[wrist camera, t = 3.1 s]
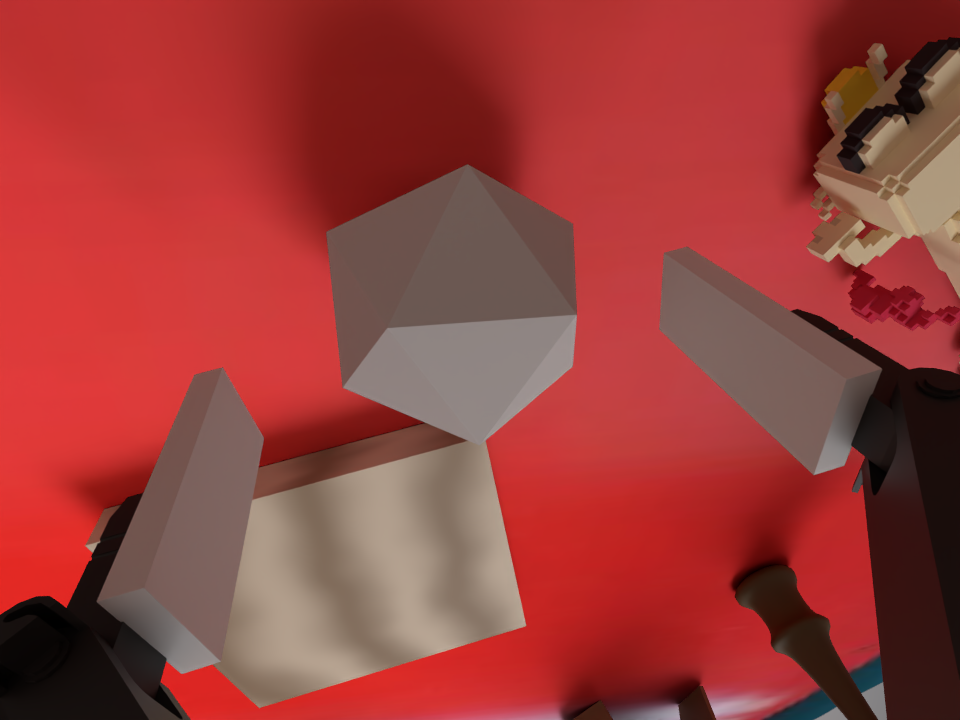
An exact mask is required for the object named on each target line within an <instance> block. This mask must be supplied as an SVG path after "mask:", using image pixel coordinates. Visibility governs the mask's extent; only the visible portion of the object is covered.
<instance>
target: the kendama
mask: <svg viewBox="0 0 960 720" xmlns="http://www.w3.org/2000/svg"><path fill="white" fill-rule="evenodd" d="M735 598H736V600H737V601H738V603H739V604H740V605H741V606H743V607H746V608H749V609H752V610H754V611H755V612H756V613H757V614H758V615H759V616H760V617H761V618H762V620H763V621H764V622H765V624H766V625H767V627H768V629H769V631H770V633H771V646H772V647H773V649H774V650H775V651H776V652H778V653H782V654H785V655H787V656H789V657H791V658H792V659H793V660H794V661H795V662H797V663H798V664H799V665H800V666H801V667H802V668H803V669H804V670H805V671H806V672H807V673H808V675H809V676H810V677H811V678H812V679H813V680H814V681H815V682H816V683H817V684H818V686H819V687H820V688H821V689H822V690H823V691H824V692H825V694H826V695H827V696H828V697H829V698H830V699H831V700H832V702H833V703H834V704H835V705H836V706H837V707H838V709H839V710H840V711H841V712H842V713H843V714H844V716H845V717H846V718H847V719H848V720H878V719H877V717H876V716H875V714H874V713H873V711H872V710H871V708H870V706H869V705H868V703H867V702H866V700H865V699H864V697H863V696H862V694H861V692H860V691H859V689H858V688H857V686H856V684H855V683H854V681H853V679H852V678H851V676H850V675H849V673H848V671H847V670H846V668H845V666H844V665H843V663H842V661H841V659H840V658H839V656H838V654H837V652H836V650H835V649H834V647H833V645H832V642H831V640H830V636H829V630H830V623H829V620H828V619H827V618H826V617H824V616H822V615H819V614H817V613H815V612H814V611H813V610H811V609H810V607H809V606H808V605H807V604H806V602H805V601H804V600H803V598H802V597H801V595H800V593H799V592H798V590H797V578H796V575H795V573H794V571H793V570H792V569H791V568H789V567H787V566H785V565H773V566H769V567H766V568H763V569H761V570H759V571H757V572H755V573H753V574H751V575H750V576H749V577H747V578H746V579H745V580H743V581H742V583H741V584H740V585H739V586H738V587H737V590H736V594H735Z"/></svg>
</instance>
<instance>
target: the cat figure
mask: <svg viewBox="0 0 960 720" xmlns="http://www.w3.org/2000/svg"><path fill="white" fill-rule="evenodd" d="M867 52H868V54H869V56H870V58H869V59H868V60H867V61H866V62H865V63H866V65H867V67H868V68H865V67H858V66H853V68H852V69H848V68H844V69H843V70H842V71H841V72H840V73H839V74H838V75H837V77H836V78H835V79H834V80H833V81H832V82H831V83H830V84H829V85H828V87H827V88H826V89H825V90H824V91H825V93H826V94H827V96H826V97H825V98H824V99H823V101H822V102H821V104H822V106H823V107H824V109H825V111H826V112H827V114H828V116H829V117H830V118H829V119H828V120H827V123H828V124H829V126H830V128H831V129H832V131H833V133H834V134H835V136H834V137H833V138H832V139H831V140H830V141H829V142H828V143H827V144H826V145H825V147H824V148H823V149H822V150H821V151H820V152H819V153H818V154H817V157H818V158H819V160H818V161H817V162H816V163H815V164H814V168H815V169H816V172H815V173H814V174H813V175H814V176H815V178H816V179H817V181H818V182H819V183H820V185H821V186H820V187H819V188H818V189H817V191H816V192H815V193H814V194H813V195H814V197H815V199H814V200H813V201H812V202H811V203H810V205H811V206H812V208H815V209H817V210H819V209H820V208H821V207H822V208H823V210H822V211H821V212H820V213H819V214H818V216H819V217H820V218H821V219H823V220H825V221H827V220H828V219H829V218H830V217H831V216H832V215H831V213H830V212H829V211H830V210H831V209H832V208H833V207H834V206H836V208H837V209H838V210H840V211H843V212H841V213H840V214H838V215H837V216H836V217H835V218H834V219H833V220H832V221H831V222H830V223H827V222H825V221H823V222H822V223H821V224H820V225H819V226H818V227H817V228H816V229H815V230H814V231H813V232H812V233H813V234H814V236H815V238H814V239H813V240H812V241H811V242H810V243H809V244H808V245H807V246H806V247H807V249H808V250H809V251H810V252H811V253H812V254H813V255H815V256H817V257H819V258H821V259H823V260H825V261H827V262H829V261H831V260H832V259H833V258H834V257H835V256H836V255H837V254H838V253H839V254H840V256H841V257H842V258H843V259H844V261H845V262H847V263H849V264H851V265H853V266H855V267H858V266H859V265H860V264H861V263H862V264H864V266H865V265H866V264H867V263H868V262H869V261H870V260H871V259H873V258H874V257H875V256H876V255H877V256H879V257H881V256H882V255H883V254H884V253H885V252H886V251H887V250H888V249H889V248H890V247H891V246H893V245H894V244H895V243H896V242H897V241H898V240H899V239H900V238H901V237H902V236H903V237H906V238H908V239H909V238H911V237H912V236H913V235H916V236H919V237H921V238H922V240H923V241H924V243H925V245H926V247H927V249H928V250H929V252H930V254H931V256H932V258H933V259H934V261H935V263H936V265H937V267H938V268H939V270H941V271H944V272H946V274H947V276H948V278H949V280H950V282H951V283H952V285H953V287H954V289H955V291H956V293H957V294H958V296H959V298H960V38H950V37H949V38H948V40H938V41H937V42H928V43H927V44H926V45H925V46H924V47H923V48H922V49H921V50H920V51H919V52H918V53H917V54H916V55H915V56H914V57H913V59H912V60H906V61H905V63H904V64H903V65H901V66H900V67H899V68H898V69H897V70H896V71H895V72H894V73H893V74H892V76H891V77H890V78H889V79H888V80H887V81H886V82H885V80H884V78H883V77H884V76H885V75H886V74H887V73H888V71H887V69H886V67H885V65H884V63H883V61H884V60H885V58H886V57H887V53H886V51H885V49H884V47H883V44H879V43H874V44H873V45H872V46H871V47H870V49H869V50H868V51H867ZM826 195H828V196H829V198H828V199H827V200H826V201H825V202H824V203H823V202H822V201H821V200H822V199H823V198H824V197H825V196H826ZM844 212H845V213H844ZM849 214H850V215H849ZM851 215H852V216H851ZM854 216H855V217H854ZM856 217H857V218H856ZM859 218H860V219H859ZM861 219H862V220H864V221H867V222H869V223H872V224H874V225H877V226H879V227H881V228H880V229H879V230H878V231H875V230H873V229H872V230H871V231H870V232H869V233H868V234H867V235H866V236H865V237H864V238H863V239H860V238H855V237H856V236H857V235H858V234H859V233H860V232H861V231H862V230H863V229H864V228H865V225H864V224H863V222H862V221H861ZM853 274H854V275H855V276H856V277H857V278H856V279H855V280H853V282H854V283H853V284H852V285H851V287H852V288H853V289H852V290H851V291H850V292H849V293H848V294H849V295H850V297H851V298H852V301H851V303H850V305H851V306H852V309H851V310H852V311H853V312H854V313H855V314H856V315H858V316H859V317H861V318H863V319H864V320H866V321H868V322H869V323H871V324H872V323H873V322H874V321H875V320H876V319H878V320H880V321H881V322H884V321H885V320H886V319H887V318H888V317H889V316H890V317H891V318H893V320H894V321H896V322H897V323H899V324H901V325H903V326H905V327H906V328H908V329H910V330H912V331H913V330H915V329H916V328H917V327H918V326H920V327H922V328H923V329H927V328H928V327H929V326H930V325H931V324H933V323H934V322H935V321H936V320H937V319H938V320H940V321H942V322H944V323H946V324H948V325H950V326H953V325H954V324H955V323H956V322H958V321H959V320H960V309H959V308H957V307H955V306H954V307H950V306H948V307H946V308H945V309H944V310H943V309H941V308H940V309H939V310H938V311H936V312H935V313H932V312H930V311H928V310H927V311H925V310H923V309H922V308H921V306H922V305H923V304H924V303H923V302H922V300H924V299H925V298H924V296H923V295H921V294H919V293H917V292H916V291H915V289H913V288H911V287H909V286H907V287H905V286H903V287H901V288H900V289H897V288H895V289H894V290H893V291H892V292H891V291H889V290H887V289H885V288H883V287H882V286H880V285H877V286H876V287H875V288H872V287H870V285H871V284H872V283H873V282H874V281H875V280H876V279H875V277H874V276H872V275H870V274H868V273H866V272H864V271H862V270H860V269H857V270H856V271H855V272H854V273H853ZM959 357H960V354H959ZM959 363H960V362H959Z"/></svg>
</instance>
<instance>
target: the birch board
mask: <svg viewBox="0 0 960 720" xmlns="http://www.w3.org/2000/svg"><path fill="white" fill-rule="evenodd" d="M120 506H121V505H118V506H114V507H111V508H107V509H104V510H103V512H102V514H101V516H100V518H99V520H98V522H97V524H96V526H95V528H94V530H93V532H92V534H91V536H90V537H89V539H88V541H87V543H86V545H85V546H86V547H87V548H88V549H89V550H90V551H92V552H94V550H95V548H96V546H97V543H100V537H101V535H102V533H103V531H104V529H105V527H106V525H107V523H108V520H109V518H110V517H111V516H112V515H113V514H114V513H115V511H116V510H117V509H118V508H119V507H120ZM524 626H526V623H525V618H524V614H523V609H522V605H521V600H520V596H519V591H518V587H517V582H516V577H515V573H514V568H513V564H512V559H511V555H510V550H509V546H508V541H507V536H506V532H505V527H504V523H503V518H502V514H501V509H500V504H499V500H498V495H497V491H496V486H495V482H494V477H493V473H492V468H491V463H490V459H489V454H488V450H487V445H486V441H484V442H483V443H482V444H481V445H477V444H475V443H472V442H470V441H468V440H465V439H463V438H461V437H458V436H456V435H454V434H451V433H449V432H446V431H444V430H442V429H439V428H437V427H435V426H432V425H430V424H427V423H423V424H420V425H416V426H412V427H409V428H405V429H401V430H397V431H394V432H390V433H386V434H382V435H379V436H375V437H371V438H368V439H364V440H360V441H356V442H353V443H349V444H345V445H341V446H338V447H334V448H330V449H327V450H323V451H319V452H315V453H312V454H308V455H304V456H300V457H297V458H293V459H289V460H286V461H282V462H278V463H274V464H271V465H267V466H263V467H260V468H258V473H257V478H256V483H255V488H254V493H253V499H252V504H251V509H250V514H249V519H248V524H247V530H246V535H245V540H244V545H243V550H242V555H241V561H240V566H239V571H238V576H237V581H236V586H235V592H234V597H233V602H232V607H231V612H230V617H229V623H228V628H227V633H226V638H225V643H224V648H223V654H222V659H221V662H218V663H215V664H213V665H214V666H215V667H216V668H217V669H218V670H219V671H220V672H221V673H222V674H223V675H224V676H226V677H227V678H228V679H229V680H230V681H231V682H232V683H233V684H234V685H235V686H236V687H237V688H238V689H239V690H241V691H242V692H243V693H244V694H245V695H246V696H247V697H248V698H249V699H250V700H251V701H252V702H253V703H255V704H256V705H257V706H258V707H259V708H261V707H264V706H267V705H270V704H274V703H277V702H280V701H283V700H287V699H290V698H293V697H296V696H300V695H303V694H306V693H309V692H313V691H316V690H319V689H322V688H326V687H329V686H332V685H335V684H339V683H342V682H345V681H349V680H352V679H355V678H358V677H362V676H365V675H368V674H371V673H375V672H378V671H381V670H384V669H388V668H391V667H394V666H397V665H401V664H404V663H407V662H410V661H414V660H417V659H420V658H423V657H427V656H430V655H433V654H437V653H440V652H443V651H446V650H450V649H453V648H456V647H459V646H463V645H466V644H469V643H472V642H476V641H479V640H482V639H485V638H489V637H492V636H495V635H498V634H502V633H505V632H508V631H511V630H515V629H518V628H521V627H524Z"/></svg>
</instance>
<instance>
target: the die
mask: <svg viewBox="0 0 960 720" xmlns="http://www.w3.org/2000/svg"><path fill="white" fill-rule="evenodd" d="M326 235H327V245H328V254H329V264H330V273H331V282H332V292H333V301H334V311H335V320H336V330H337V339H338V348H339V358H340V367H341V377H342V386H343V388H345V389H347V390H349V391H352V392H354V393H356V394H359V395H361V396H363V397H366V398H368V399H371V400H373V401H375V402H378V403H380V404H382V405H385V406H387V407H390V408H392V409H394V410H397V411H399V412H401V413H404V414H406V415H409V416H411V417H413V418H416V419H418V420H420V421H423V422H425V423H427V424H430V425H432V426H435V427H437V428H439V429H442V430H444V431H446V432H449V433H451V434H454V435H456V436H458V437H461V438H463V439H465V440H468V441H470V442H472V443H475V444H477V445H481V444H482V443H483V442H484V441H485V440H486V439H488V438H489V437H490V436H491V435H492V434H494V433H495V432H496V431H497V430H498V429H499V428H501V427H502V426H503V425H504V424H505V423H507V422H508V421H509V420H510V419H511V418H512V417H514V416H515V415H516V414H517V413H518V412H520V411H521V410H522V409H523V408H524V407H525V406H527V405H528V404H529V403H530V402H531V401H533V400H534V399H535V398H536V397H537V396H538V395H540V394H541V393H542V392H543V391H544V390H545V389H547V388H548V387H549V386H550V385H551V384H553V383H554V382H555V381H556V380H557V379H558V378H560V377H561V376H562V375H563V374H564V373H566V372H567V371H568V370H569V369H570V368H571V367H573V355H574V343H575V331H576V319H577V306H576V283H575V259H574V236H573V224H572V223H571V222H569V221H567V220H565V219H564V218H562V217H560V216H558V215H556V214H555V213H553V212H551V211H549V210H548V209H546V208H544V207H542V206H541V205H539V204H537V203H535V202H533V201H532V200H530V199H528V198H526V197H525V196H523V195H521V194H519V193H518V192H516V191H514V190H512V189H510V188H509V187H507V186H505V185H503V184H502V183H500V182H498V181H496V180H495V179H493V178H491V177H489V176H488V175H486V174H484V173H482V172H480V171H479V170H477V169H475V168H473V167H472V166H470V165H468V164H467V165H465V166H463V167H461V168H459V169H457V170H454V171H452V172H450V173H448V174H446V175H444V176H442V177H440V178H438V179H436V180H434V181H431V182H429V183H427V184H425V185H423V186H421V187H419V188H417V189H415V190H413V191H411V192H408V193H406V194H404V195H402V196H400V197H398V198H396V199H394V200H392V201H390V202H388V203H386V204H383V205H381V206H379V207H377V208H375V209H373V210H371V211H369V212H367V213H365V214H363V215H360V216H358V217H356V218H354V219H352V220H350V221H348V222H346V223H344V224H342V225H340V226H338V227H335V228H333V229H331V230H329V231H327V232H326Z"/></svg>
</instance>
